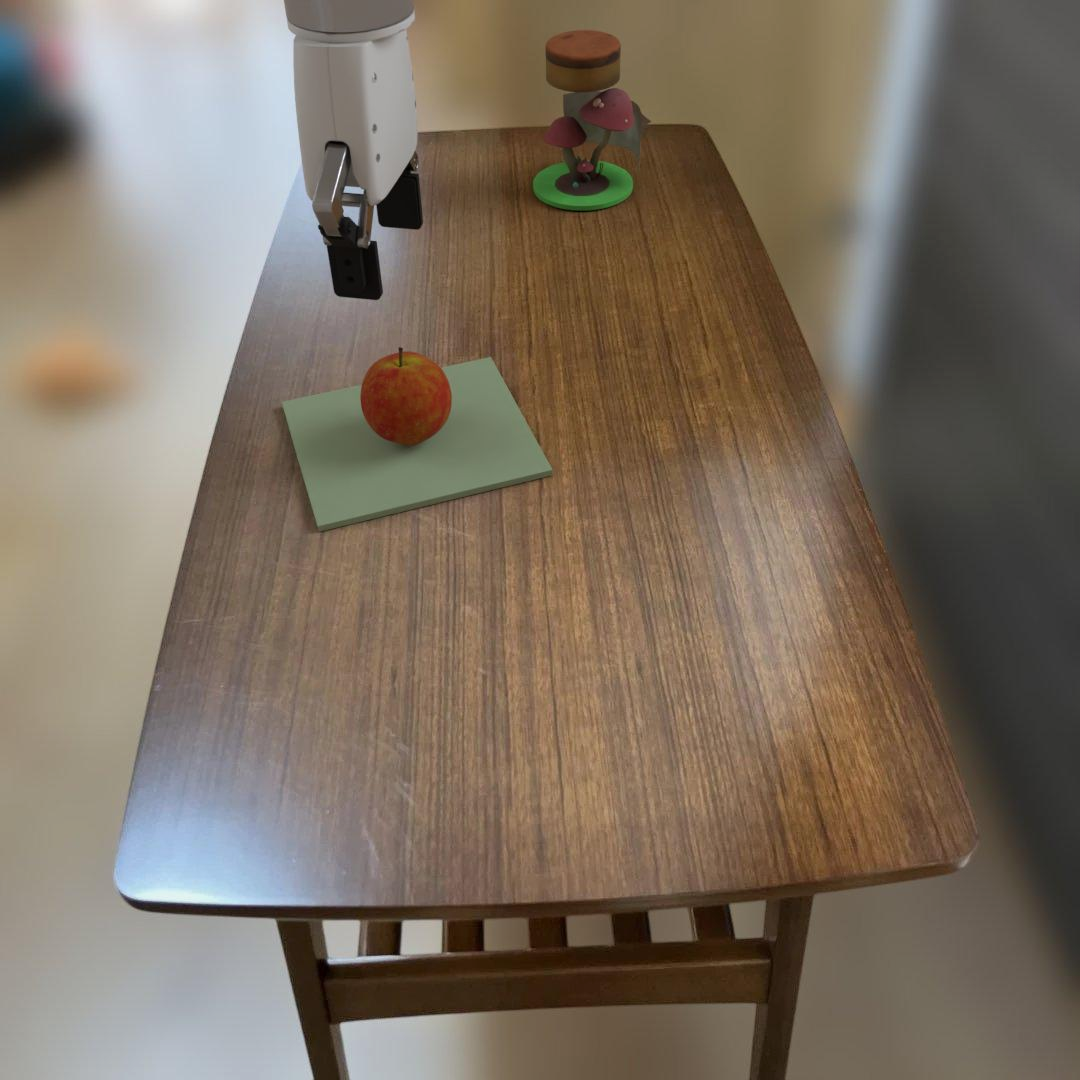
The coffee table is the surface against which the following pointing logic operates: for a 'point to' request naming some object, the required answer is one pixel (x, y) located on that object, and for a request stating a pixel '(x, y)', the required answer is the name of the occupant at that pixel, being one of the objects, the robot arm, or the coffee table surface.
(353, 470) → the mat
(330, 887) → the coffee table surface
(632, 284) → the coffee table surface
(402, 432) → the fruit
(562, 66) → the mushroom figurine
